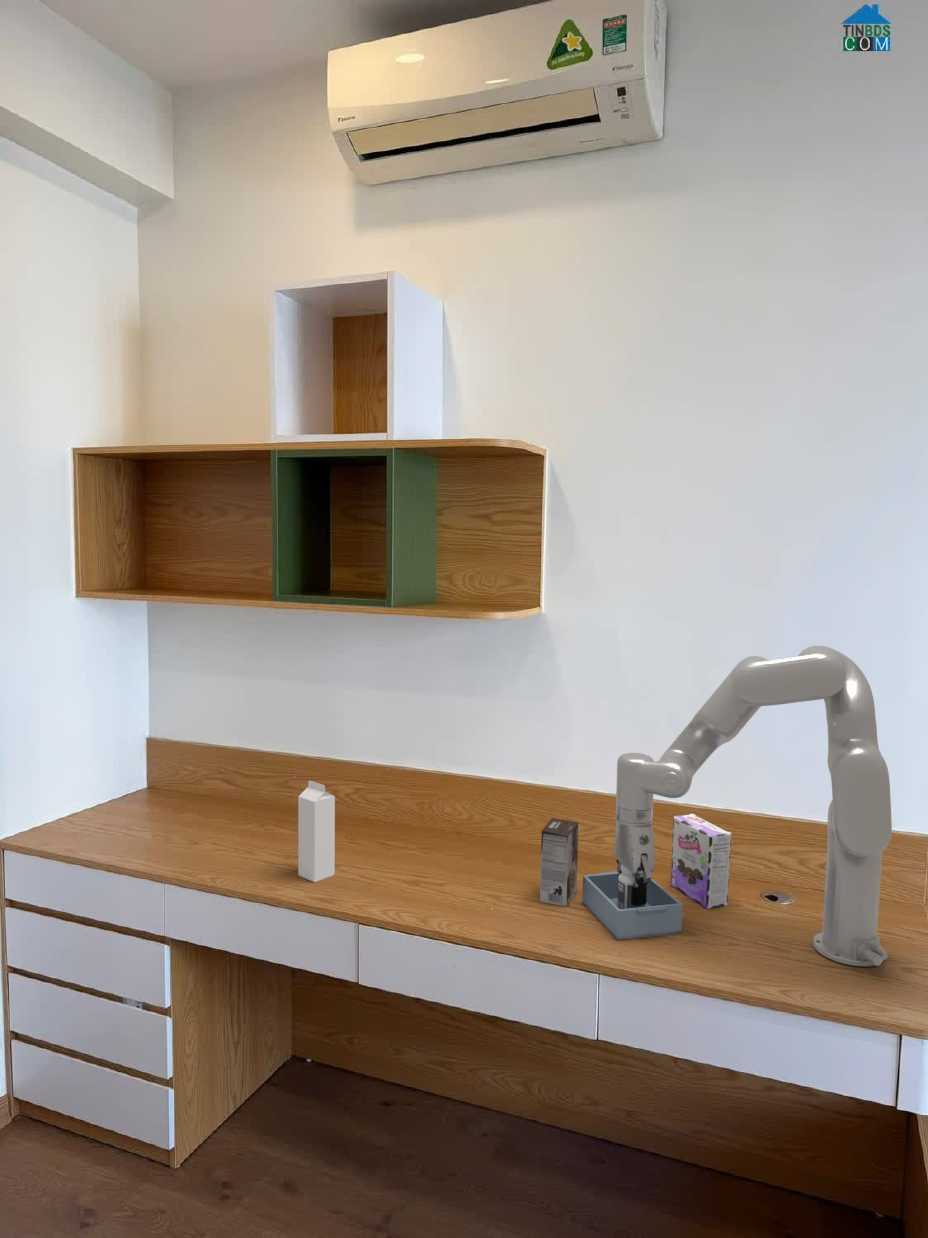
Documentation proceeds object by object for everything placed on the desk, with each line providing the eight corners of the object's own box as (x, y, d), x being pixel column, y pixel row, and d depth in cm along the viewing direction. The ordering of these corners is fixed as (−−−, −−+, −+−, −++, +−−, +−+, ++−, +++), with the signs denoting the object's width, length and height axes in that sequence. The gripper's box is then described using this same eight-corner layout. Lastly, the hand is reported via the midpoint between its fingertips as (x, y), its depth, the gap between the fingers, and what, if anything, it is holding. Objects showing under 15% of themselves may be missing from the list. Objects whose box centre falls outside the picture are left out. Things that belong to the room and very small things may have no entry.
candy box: (669, 885, 194) (672, 815, 192) (690, 881, 196) (693, 812, 194) (706, 909, 181) (709, 835, 179) (729, 906, 183) (732, 832, 181)
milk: (314, 883, 192) (314, 788, 189) (297, 875, 195) (297, 783, 193) (335, 875, 196) (335, 782, 194) (318, 868, 200) (318, 777, 198)
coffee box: (549, 886, 192) (551, 817, 190) (577, 891, 189) (579, 821, 188) (538, 902, 183) (540, 830, 182) (567, 907, 181) (569, 834, 179)
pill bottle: (648, 909, 177) (650, 863, 176) (639, 919, 172) (641, 872, 172) (622, 903, 180) (623, 858, 179) (613, 913, 175) (614, 866, 174)
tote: (683, 935, 169) (685, 906, 168) (619, 942, 165) (620, 913, 165) (639, 894, 188) (640, 868, 187) (580, 900, 184) (581, 874, 184)
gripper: (670, 826, 167) (667, 914, 169) (632, 800, 184) (630, 880, 185) (636, 828, 165) (633, 917, 167) (600, 802, 182) (598, 883, 183)
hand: (631, 897), depth 176 cm, fingers closed on pill bottle, 5 cm apart
